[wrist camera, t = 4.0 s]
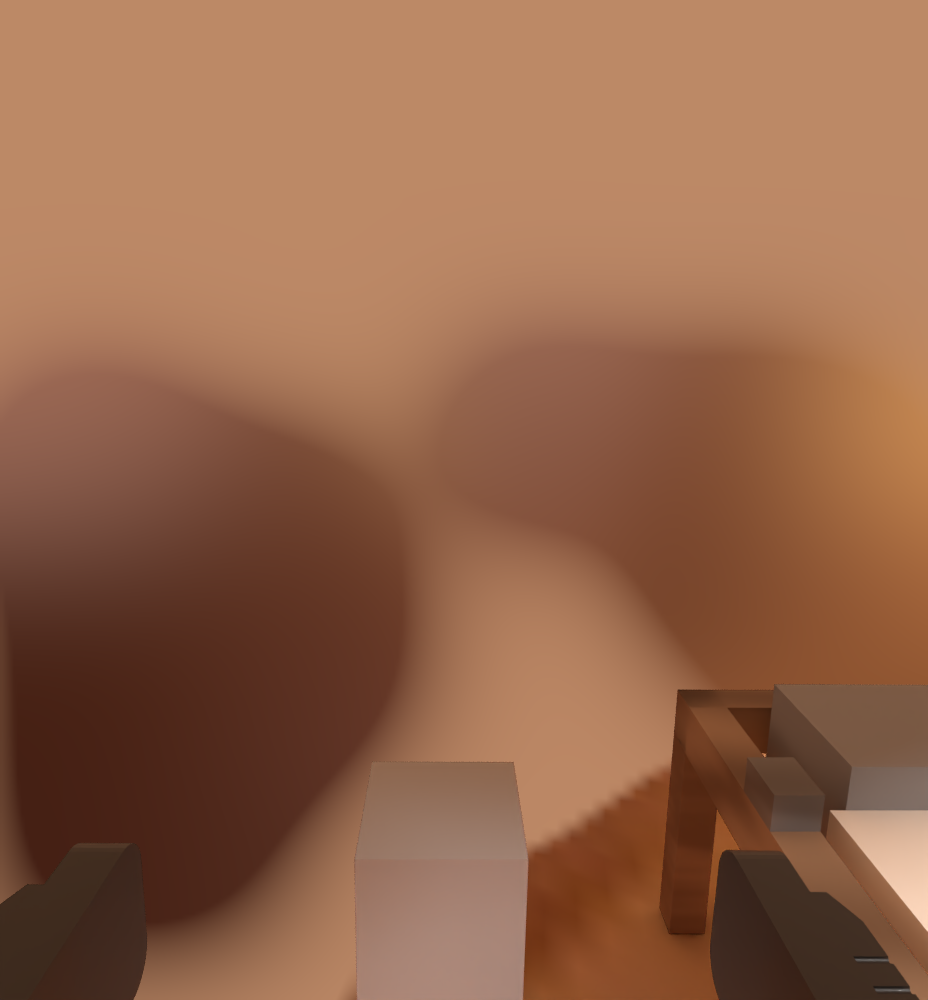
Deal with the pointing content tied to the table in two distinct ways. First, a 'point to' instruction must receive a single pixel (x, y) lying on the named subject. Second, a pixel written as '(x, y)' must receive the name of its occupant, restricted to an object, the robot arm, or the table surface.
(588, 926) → the table surface
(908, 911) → the trapdoor
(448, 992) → the granite block
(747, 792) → the frame
